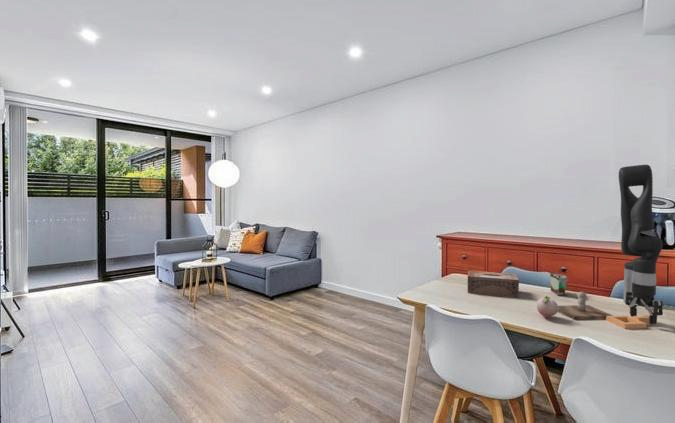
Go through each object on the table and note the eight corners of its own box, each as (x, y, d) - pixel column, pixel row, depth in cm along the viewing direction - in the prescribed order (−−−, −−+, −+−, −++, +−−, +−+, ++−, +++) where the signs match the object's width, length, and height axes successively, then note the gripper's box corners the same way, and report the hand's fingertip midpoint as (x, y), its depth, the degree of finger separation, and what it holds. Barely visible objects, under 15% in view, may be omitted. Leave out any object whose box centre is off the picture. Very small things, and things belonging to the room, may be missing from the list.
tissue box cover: (467, 293, 187) (467, 276, 187) (467, 286, 201) (468, 270, 200) (518, 298, 177) (518, 280, 177) (515, 290, 191) (515, 274, 190)
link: (639, 319, 145) (639, 312, 144) (660, 327, 135) (660, 320, 135) (606, 320, 144) (606, 313, 144) (624, 328, 135) (624, 321, 135)
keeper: (588, 308, 160) (589, 287, 159) (613, 318, 146) (614, 296, 145) (552, 308, 159) (552, 288, 159) (573, 319, 145) (574, 296, 145)
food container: (572, 297, 177) (572, 278, 177) (559, 296, 178) (559, 278, 178) (561, 290, 189) (561, 273, 189) (549, 290, 190) (549, 273, 190)
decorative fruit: (558, 323, 142) (558, 300, 142) (536, 319, 146) (536, 297, 146) (557, 316, 150) (558, 294, 150) (536, 312, 154) (537, 292, 154)
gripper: (669, 287, 132) (668, 326, 133) (636, 278, 146) (635, 313, 147) (651, 287, 132) (650, 326, 133) (620, 278, 146) (619, 314, 147)
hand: (642, 320), depth 140 cm, fingers open, 8 cm apart
